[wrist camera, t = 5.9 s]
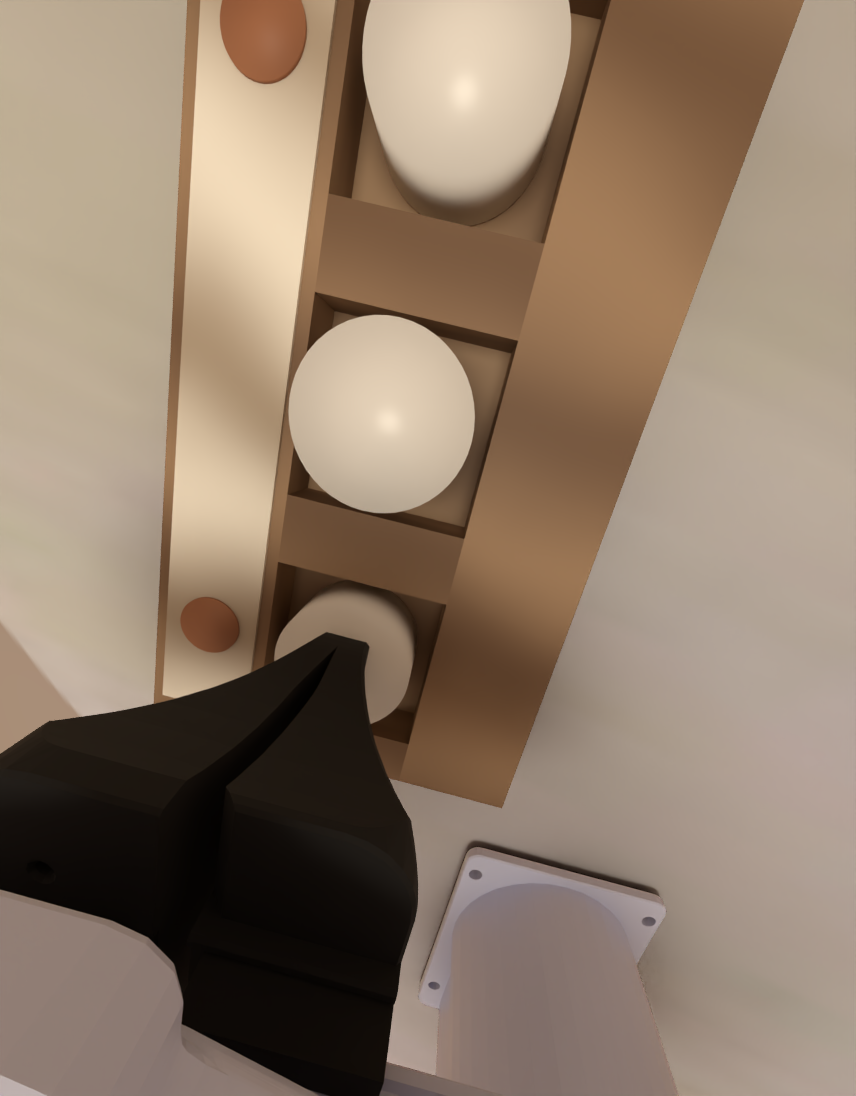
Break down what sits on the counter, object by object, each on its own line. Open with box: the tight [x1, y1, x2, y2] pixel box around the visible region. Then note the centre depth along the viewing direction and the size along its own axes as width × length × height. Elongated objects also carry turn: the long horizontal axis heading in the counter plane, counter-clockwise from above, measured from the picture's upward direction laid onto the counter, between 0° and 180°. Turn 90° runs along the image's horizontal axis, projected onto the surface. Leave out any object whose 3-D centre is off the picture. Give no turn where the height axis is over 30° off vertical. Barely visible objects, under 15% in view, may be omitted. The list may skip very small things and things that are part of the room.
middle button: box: [288, 315, 475, 513], centre depth 9 cm, size 4×4×2 cm
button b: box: [274, 580, 417, 724], centre depth 13 cm, size 4×4×2 cm
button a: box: [362, 0, 571, 226], centre depth 9 cm, size 4×4×2 cm
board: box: [154, 0, 804, 808], centre depth 11 cm, size 22×12×2 cm, turn 167°
